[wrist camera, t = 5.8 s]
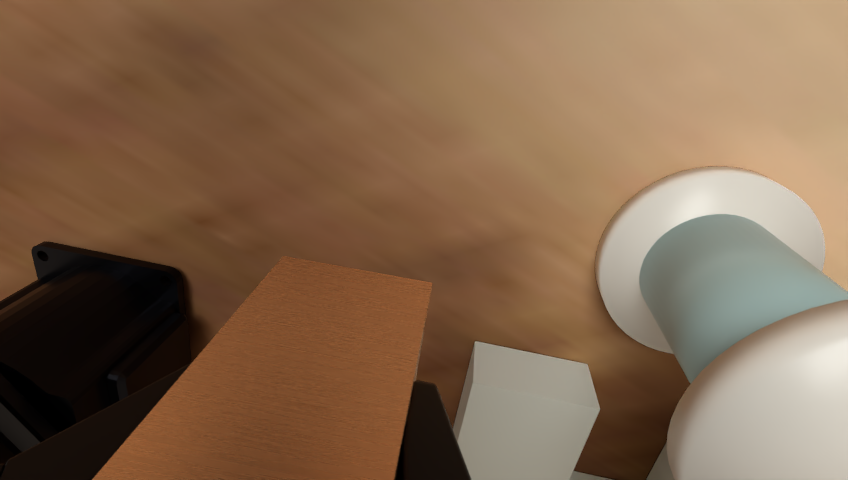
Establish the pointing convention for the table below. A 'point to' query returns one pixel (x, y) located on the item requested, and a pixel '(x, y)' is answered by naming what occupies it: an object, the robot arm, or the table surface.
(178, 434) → the copper tab
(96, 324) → the robot arm
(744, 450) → the bobbin
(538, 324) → the table surface
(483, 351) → the notched board
